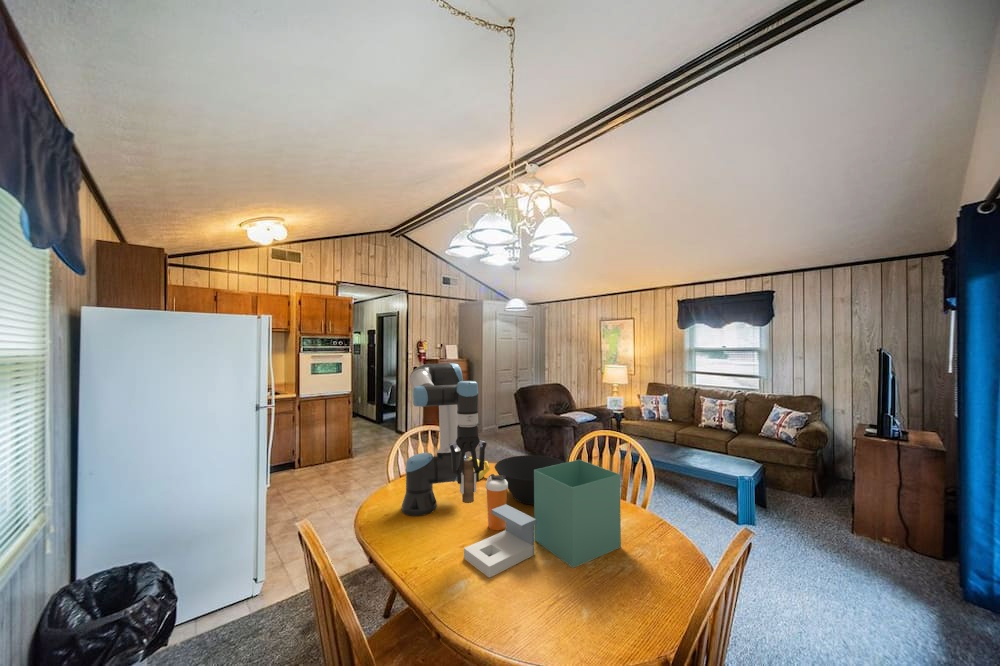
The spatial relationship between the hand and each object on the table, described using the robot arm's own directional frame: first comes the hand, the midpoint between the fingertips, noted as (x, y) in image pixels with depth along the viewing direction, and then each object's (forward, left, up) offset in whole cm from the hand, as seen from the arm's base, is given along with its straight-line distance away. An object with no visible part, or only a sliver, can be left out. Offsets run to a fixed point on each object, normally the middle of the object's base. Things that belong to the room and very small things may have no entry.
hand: (468, 491), depth 133 cm
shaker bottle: (-8, +20, -21) cm, 30 cm away
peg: (0, 0, -3) cm, 3 cm away
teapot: (-58, +43, -21) cm, 75 cm away
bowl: (-18, +50, -21) cm, 57 cm away
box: (+21, +34, -21) cm, 45 cm away
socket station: (+9, +7, -21) cm, 24 cm away
